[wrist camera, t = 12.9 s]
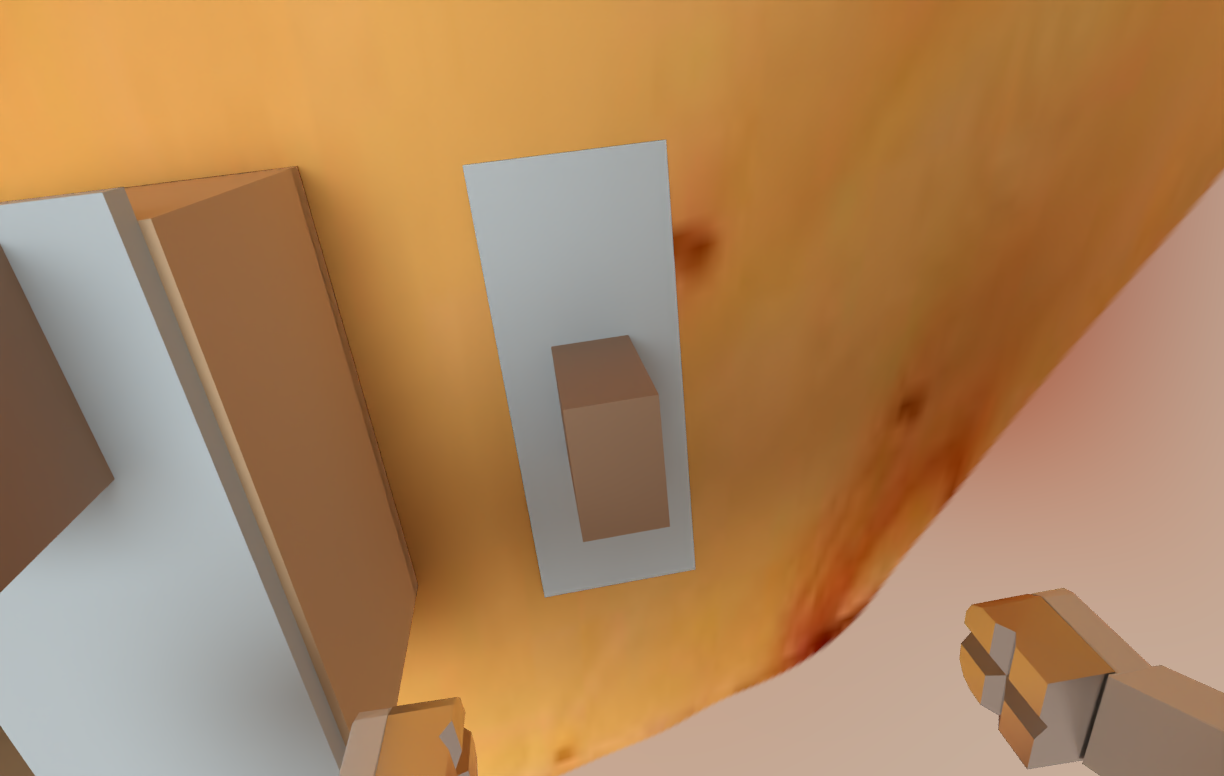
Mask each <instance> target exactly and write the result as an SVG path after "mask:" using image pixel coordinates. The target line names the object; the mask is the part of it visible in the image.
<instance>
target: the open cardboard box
mask: <svg viewBox="0 0 1224 776" xmlns="http://www.w3.org/2000/svg"><path fill="white" fill-rule="evenodd" d="M124 189H125V191H126V194H127V196H128V199H129V201H130V204H131V206H132V209H133V211H134V214H135V216H136V219H137V221H138V224H139V226H140V229H141V232H142V234H143V237H144V239H145V242H146V244H147V247H148V249H149V252H150V254H151V257H152V259H153V262H154V264H155V267H156V269H157V272H158V274H159V277H160V279H161V282H162V285H163V287H164V290H165V292H166V295H167V297H168V300H169V302H170V305H171V307H172V310H173V312H174V315H175V317H176V320H177V322H178V325H179V327H180V330H181V332H182V335H183V338H184V340H185V343H186V345H187V348H188V350H189V353H190V355H191V358H192V360H193V363H194V365H195V368H196V370H197V373H198V375H199V378H200V380H201V383H202V386H203V388H204V391H205V393H206V396H207V398H208V401H209V403H210V406H211V408H212V411H213V413H214V416H215V418H216V421H217V423H218V426H219V428H220V431H221V433H222V436H223V439H224V441H225V444H226V446H227V449H228V451H229V454H230V456H231V459H232V461H233V464H234V466H235V469H236V471H237V474H238V476H239V479H240V481H241V484H242V486H243V489H244V492H245V494H246V497H247V499H248V502H249V504H250V507H251V509H252V512H253V514H254V517H255V519H256V522H257V524H258V527H259V529H260V532H261V534H262V537H263V539H264V542H265V545H266V547H267V550H268V552H269V555H270V557H271V560H272V562H273V565H274V567H275V570H276V572H277V575H278V577H279V580H280V582H281V585H282V587H283V590H284V593H285V595H286V598H287V600H288V603H289V605H290V608H291V610H292V613H293V615H294V618H295V620H296V623H297V625H298V628H299V630H300V633H301V635H302V638H303V640H304V643H305V646H306V648H307V651H308V653H309V656H310V658H311V661H312V663H313V666H314V668H315V671H316V673H317V676H318V678H319V681H320V683H321V686H322V688H323V691H324V693H325V696H326V699H327V701H328V704H329V706H330V709H331V711H332V714H333V716H334V719H335V721H336V724H337V726H338V729H339V731H340V734H341V736H342V739H343V741H344V744H345V746H347V742H348V738H349V735H350V731H351V727H352V723H353V722H354V720H355V718H356V717H357V715H358V714H359V712H365V711H371V710H378V709H384V708H390V707H394V706H397V701H398V695H399V690H400V684H401V679H402V673H403V667H404V662H405V656H406V651H407V645H408V639H409V634H410V628H411V623H412V617H413V611H414V606H415V600H416V595H417V589H418V583H417V579H416V576H415V572H414V569H413V566H412V562H411V559H410V555H409V552H408V548H407V545H406V541H405V538H404V534H403V531H402V527H401V524H400V521H399V517H398V514H397V510H396V507H395V503H394V500H393V496H392V493H391V489H390V486H389V482H388V479H387V475H386V472H385V469H384V465H383V462H382V458H381V455H380V451H379V448H378V444H377V441H376V437H375V434H374V430H373V427H372V423H371V420H370V417H369V413H368V410H367V406H366V403H365V399H364V396H363V392H362V389H361V385H360V382H359V378H358V375H357V371H356V368H355V365H354V361H353V358H352V354H351V351H350V347H349V344H348V340H347V337H346V333H345V330H344V326H343V323H342V320H341V316H340V313H339V309H338V306H337V302H336V299H335V295H334V292H333V288H332V285H331V281H330V278H329V274H328V271H327V268H326V264H325V261H324V257H323V254H322V250H321V247H320V243H319V240H318V236H317V233H316V229H315V226H314V222H313V219H312V216H311V212H310V209H309V205H308V202H307V198H306V195H305V191H304V188H303V184H302V181H301V177H300V174H299V170H298V167H297V166H295V167H287V168H279V169H271V170H263V171H255V172H247V173H238V174H230V175H222V176H214V177H206V178H198V179H190V180H182V181H174V182H166V183H158V184H150V185H142V186H134V187H125V188H124ZM0 776H35V775H34V773H33V772H32V770H31V769H30V768H29V766H28V765H27V763H26V762H25V760H24V759H23V758H22V756H21V755H20V753H19V752H18V750H17V749H16V747H15V746H14V745H13V743H12V742H11V740H10V739H9V737H8V736H7V734H6V733H5V732H4V730H3V729H2V727H1V726H0Z"/></svg>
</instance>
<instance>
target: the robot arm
mask: <svg viewBox="0 0 1224 776" xmlns="http://www.w3.org/2000/svg"><path fill="white" fill-rule="evenodd" d="M965 624H966V626H967V627H968V628H969V629H970V631H971V633H970V634H969V635H968V636H967V638H966V639H965V640H964V641H963V642H962V643H961V650H960V663H961V667H962V671H963V676H964V678H965V680H966V682H967V684H968V686H969V688H970V690H971V692H972V693H973V695H974V696H975V698H976V699H977V701H978V702H979V703H980V705H982V706H984V707H986V708H987V709H989V710H991V711H992V712H994V713H996V714H998V715H999V725H998V726H999V727H998V730H999V731H1000V733H1001V734H1002V735H1003V737H1004V738H1005V739H1006V741H1007V742H1008V744H1009V745H1010V746H1011V748H1012V749H1013V751H1014V752H1015V753H1016V755H1017V756H1018V757H1019V759H1020V760H1021V762H1022V763H1023V764H1024V766H1025V767H1026V768H1027V769H1032V768H1038V767H1045V766H1051V765H1057V764H1063V763H1069V762H1076V761H1082V760H1083V763H1082V764H1084V765H1085V766H1087V767H1088V768H1089V769H1091V770H1092V771H1094V772H1095V773H1097V774H1098V775H1100V776H1224V693H1223V692H1220V691H1218V690H1216V689H1214V688H1211V687H1209V686H1207V685H1205V684H1202V683H1200V682H1198V681H1196V680H1193V679H1191V678H1189V677H1187V676H1184V675H1182V674H1180V673H1178V672H1176V671H1173V670H1171V669H1169V668H1167V667H1164V666H1162V665H1159V666H1153V667H1152V666H1151V665H1150V664H1148V663H1147V662H1146V661H1145V660H1144V659H1143V658H1142V657H1141V656H1140V655H1139V654H1138V653H1137V652H1136V651H1134V650H1133V649H1132V648H1131V647H1130V646H1129V645H1128V644H1127V643H1126V642H1125V641H1124V640H1123V639H1122V638H1121V637H1120V636H1119V635H1118V634H1117V633H1116V632H1114V631H1113V630H1112V629H1111V628H1110V627H1109V626H1108V625H1107V624H1106V623H1105V622H1104V621H1103V620H1102V619H1101V618H1100V617H1099V616H1098V615H1096V614H1095V613H1094V612H1093V611H1092V610H1091V609H1090V608H1089V607H1088V606H1087V605H1086V604H1085V603H1084V602H1082V600H1081V599H1079V598H1078V597H1077V596H1076V595H1075V594H1074V593H1073V592H1071V591H1069V590H1067V589H1065V588H1061V589H1055V590H1049V591H1044V592H1038V593H1034V594H1025V595H1020V596H1014V597H1010V598H1004V599H999V600H994V601H988V602H983V603H978V604H973V605H971V606H970V608H969V609H968V610H967V611H966V617H965ZM464 720H465V710H464V707H463V705H462V702H461V699H460V698H459V697H454V698H448V699H441V700H434V701H428V702H421V703H414V704H408V705H401V706H394V707H390V708H384V709H378V710H371V711H365V712H359V714H358V715H357V717H356V718H355V720H354V722H353V723H352V727H351V731H350V735H349V738H348V742H347V746H346V750H345V754H344V757H343V761H342V765H341V769H340V772H339V776H478V773H477V756H476V750H475V744H474V740H473V737H472V733H471V732H470V731H469V730H467V729H465V728H464Z"/></svg>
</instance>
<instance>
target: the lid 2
mask: <svg viewBox="0 0 1224 776" xmlns="http://www.w3.org/2000/svg"><path fill="white" fill-rule="evenodd" d="M463 171H464V176H465V181H466V186H467V192H468V197H469V202H470V207H471V213H472V218H473V223H474V228H475V234H476V239H477V244H478V249H479V255H480V260H481V265H482V270H483V276H484V281H485V286H486V291H487V297H488V302H489V307H490V312H491V318H492V323H493V328H494V333H495V339H496V344H497V349H498V354H499V360H500V365H501V370H502V375H503V381H504V386H505V391H506V396H507V402H508V407H509V412H510V417H511V423H512V428H513V433H514V438H515V444H516V449H517V454H518V459H519V465H520V470H521V475H522V480H523V486H524V491H525V496H526V501H527V507H528V512H529V517H530V522H531V528H532V533H533V538H534V543H535V549H536V554H537V559H538V565H539V570H540V575H541V580H542V586H543V591H544V596H545V597H550V596H555V595H561V594H566V593H571V592H577V591H582V590H587V589H593V588H598V587H604V586H609V585H614V584H620V583H625V582H630V581H636V580H641V579H647V578H652V577H657V576H663V575H668V574H673V573H679V572H684V571H690V570H695V556H694V541H693V526H692V512H691V497H690V483H689V468H688V453H687V439H686V424H685V410H684V395H683V380H682V366H681V351H680V337H679V322H678V307H677V293H676V278H675V263H674V249H673V234H672V220H671V205H670V190H669V176H668V161H667V147H666V140H658V141H650V142H642V143H634V144H626V145H618V146H610V147H602V148H594V149H586V150H578V151H571V152H563V153H555V154H547V155H539V156H531V157H523V158H515V159H507V160H499V161H491V162H483V163H475V164H467V165H463Z"/></svg>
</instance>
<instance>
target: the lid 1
mask: <svg viewBox="0 0 1224 776" xmlns="http://www.w3.org/2000/svg"><path fill="white" fill-rule="evenodd" d="M0 726H1V727H2V729H3V730H4V732H5V733H6V734H7V736H8V737H9V739H10V740H11V742H12V743H13V745H14V746H15V747H16V749H17V750H18V752H19V753H20V755H21V756H22V758H23V759H24V760H25V762H26V763H27V765H28V766H29V768H30V769H31V770H32V772H33V773H34V775H35V776H339V772H340V769H341V765H342V761H343V757H344V754H345V750H346V746H345V744H344V741H343V739H342V736H341V734H340V731H339V729H338V726H337V724H336V721H335V719H334V716H333V714H332V711H331V709H330V706H329V704H328V701H327V699H326V696H325V693H324V691H323V688H322V686H321V683H320V681H319V678H318V676H317V673H316V671H315V668H314V666H313V663H312V661H311V658H310V656H309V653H308V651H307V648H306V646H305V643H304V640H303V638H302V635H301V633H300V630H299V628H298V625H297V623H296V620H295V618H294V615H293V613H292V610H291V608H290V605H289V603H288V600H287V598H286V595H285V593H284V590H283V587H282V585H281V582H280V580H279V577H278V575H277V572H276V570H275V567H274V565H273V562H272V560H271V557H270V555H269V552H268V550H267V547H266V545H265V542H264V539H263V537H262V534H261V532H260V529H259V527H258V524H257V522H256V519H255V517H254V514H253V512H252V509H251V507H250V504H249V502H248V499H247V497H246V494H245V492H244V489H243V486H242V484H241V481H240V479H239V476H238V474H237V471H236V469H235V466H234V464H233V461H232V459H231V456H230V454H229V451H228V449H227V446H226V444H225V441H224V439H223V436H222V433H221V431H220V428H219V426H218V423H217V421H216V418H215V416H214V413H213V411H212V408H211V406H210V403H209V401H208V398H207V396H206V393H205V391H204V388H203V386H202V383H201V380H200V378H199V375H198V373H197V370H196V368H195V365H194V363H193V360H192V358H191V355H190V353H189V350H188V348H187V345H186V343H185V340H184V338H183V335H182V332H181V330H180V327H179V325H178V322H177V320H176V317H175V315H174V312H173V310H172V307H171V305H170V302H169V300H168V297H167V295H166V292H165V290H164V287H163V285H162V282H161V279H160V277H159V274H158V272H157V269H156V267H155V264H154V262H153V259H152V257H151V254H150V252H149V249H148V247H147V244H146V242H145V239H144V237H143V234H142V232H141V229H140V226H139V224H138V221H137V219H136V216H135V214H134V211H133V209H132V206H131V204H130V201H129V199H128V196H127V194H126V191H125V189H124V187H120V188H112V189H104V190H96V191H88V192H80V193H72V194H63V195H55V196H47V197H39V198H31V199H23V200H15V201H7V202H0Z"/></svg>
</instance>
